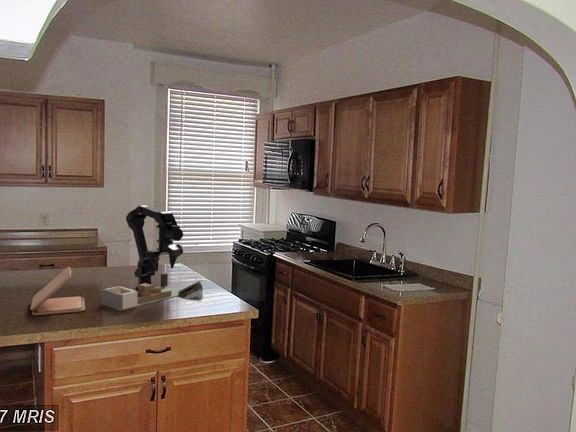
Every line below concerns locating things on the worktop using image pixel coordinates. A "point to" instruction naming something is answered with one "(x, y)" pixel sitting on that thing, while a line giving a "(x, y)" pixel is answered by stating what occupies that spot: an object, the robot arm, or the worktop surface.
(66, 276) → the case
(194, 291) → the chocolate cake
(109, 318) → the worktop surface
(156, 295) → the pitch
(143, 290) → the sled
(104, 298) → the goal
